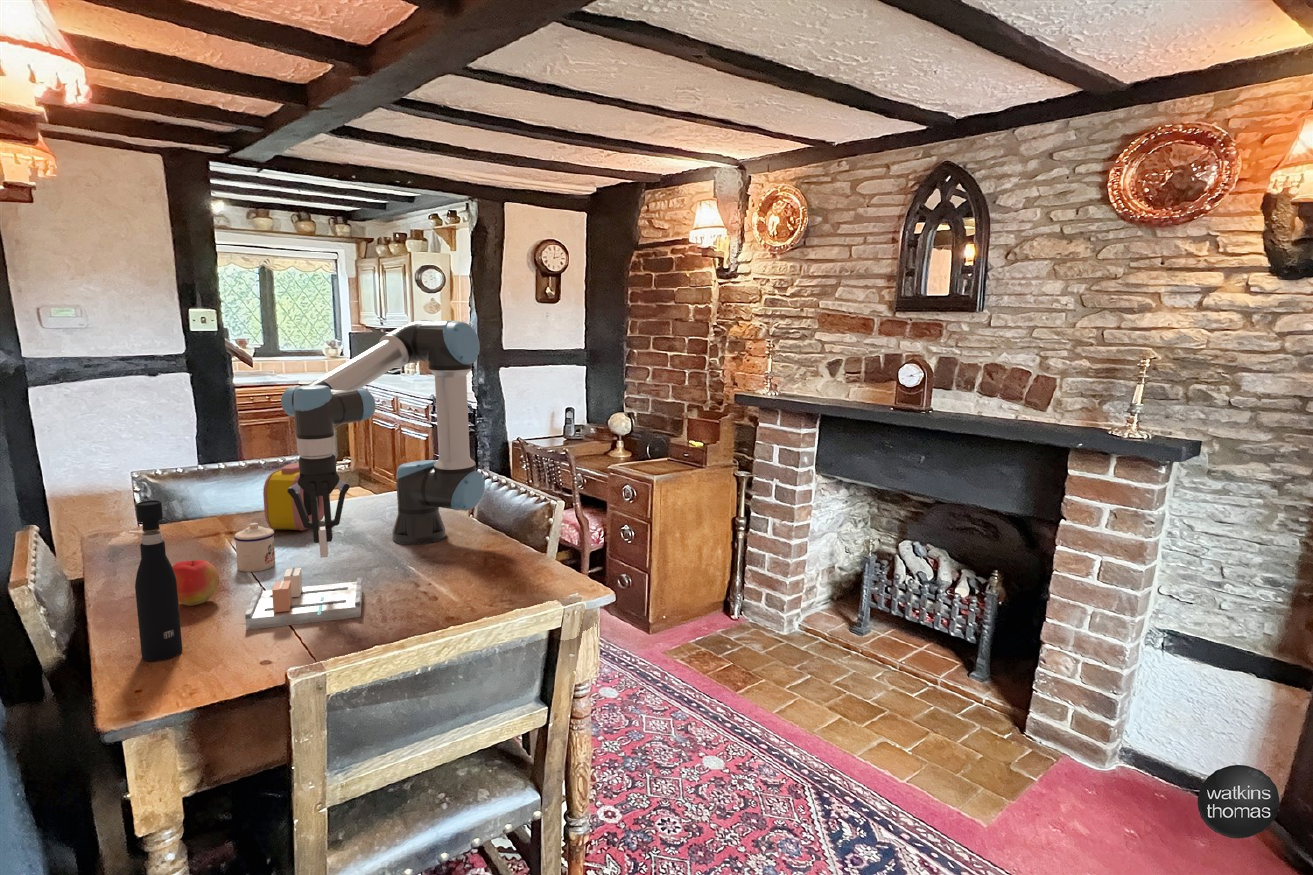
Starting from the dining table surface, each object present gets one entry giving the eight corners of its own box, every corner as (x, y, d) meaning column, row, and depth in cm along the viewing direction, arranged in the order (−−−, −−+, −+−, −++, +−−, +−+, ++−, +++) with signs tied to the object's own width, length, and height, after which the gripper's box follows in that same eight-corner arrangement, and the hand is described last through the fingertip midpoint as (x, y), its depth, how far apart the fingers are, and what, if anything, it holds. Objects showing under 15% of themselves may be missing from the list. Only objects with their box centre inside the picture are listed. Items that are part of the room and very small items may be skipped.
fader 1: (292, 602, 154) (290, 579, 153) (289, 610, 149) (288, 587, 149) (276, 603, 153) (275, 580, 152) (273, 612, 148) (272, 589, 147)
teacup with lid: (273, 570, 180) (271, 526, 178) (233, 574, 176) (230, 529, 174) (279, 555, 191) (277, 514, 189) (241, 559, 187) (238, 517, 185)
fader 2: (302, 588, 162) (301, 566, 161) (300, 596, 157) (298, 574, 156) (287, 589, 161) (286, 568, 160) (285, 597, 156) (283, 575, 155)
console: (362, 587, 170) (361, 574, 170) (360, 620, 151) (359, 605, 151) (259, 597, 162) (259, 583, 162) (244, 634, 143) (243, 618, 143)
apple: (182, 615, 152) (178, 571, 150) (161, 605, 157) (157, 562, 155) (228, 601, 160) (225, 559, 158) (207, 592, 165) (204, 551, 163)
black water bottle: (155, 646, 137) (141, 498, 132) (189, 646, 138) (177, 498, 133) (134, 662, 131) (118, 507, 126) (170, 661, 131) (156, 507, 127)
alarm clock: (299, 535, 209) (296, 472, 206) (263, 534, 209) (258, 471, 206) (329, 518, 227) (326, 460, 224) (295, 517, 227) (292, 459, 224)
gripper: (349, 450, 162) (355, 547, 166) (286, 453, 157) (294, 553, 162) (347, 456, 155) (354, 557, 159) (282, 460, 150) (290, 564, 155)
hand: (324, 555), depth 160 cm, fingers closed
